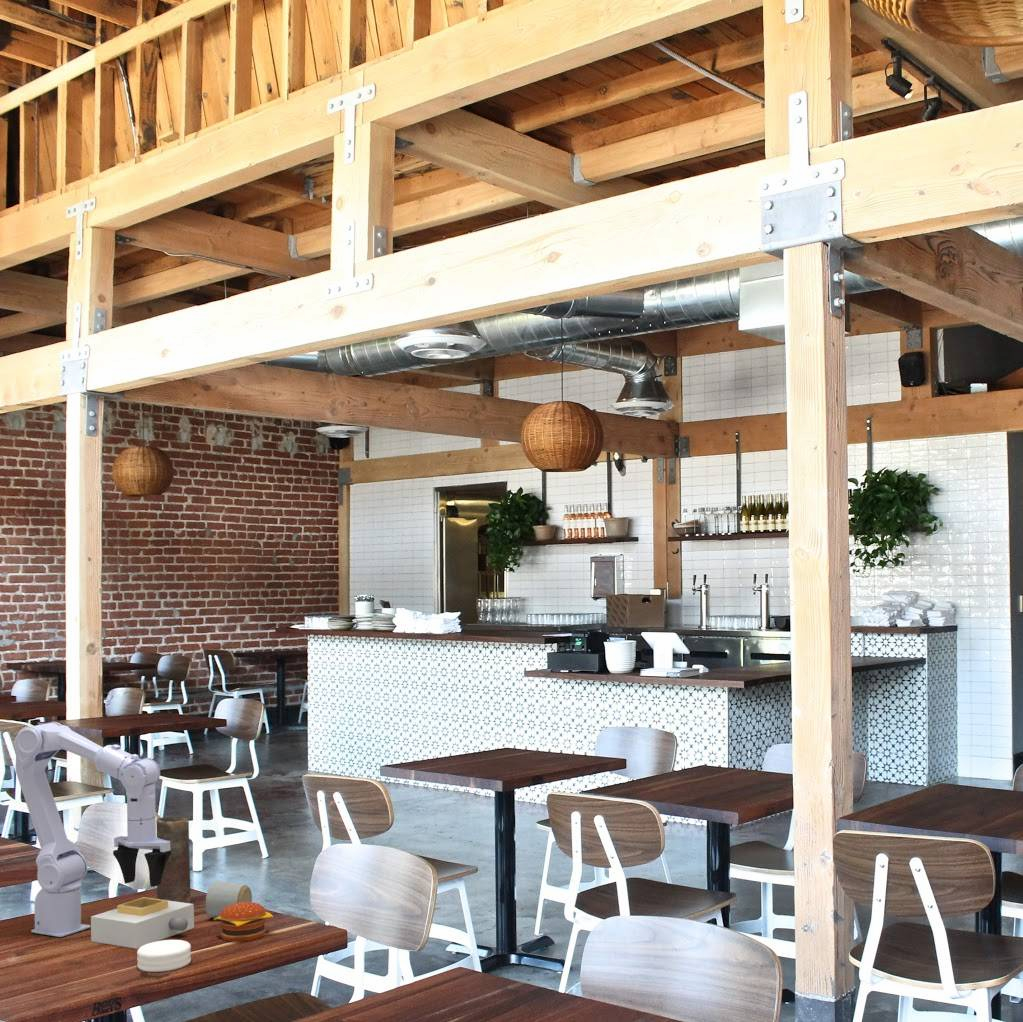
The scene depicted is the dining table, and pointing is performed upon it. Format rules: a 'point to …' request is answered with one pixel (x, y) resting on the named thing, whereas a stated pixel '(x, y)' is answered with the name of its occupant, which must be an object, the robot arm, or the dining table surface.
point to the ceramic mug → (225, 896)
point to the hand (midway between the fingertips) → (142, 884)
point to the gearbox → (142, 922)
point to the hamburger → (243, 922)
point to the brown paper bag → (175, 860)
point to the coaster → (164, 955)
